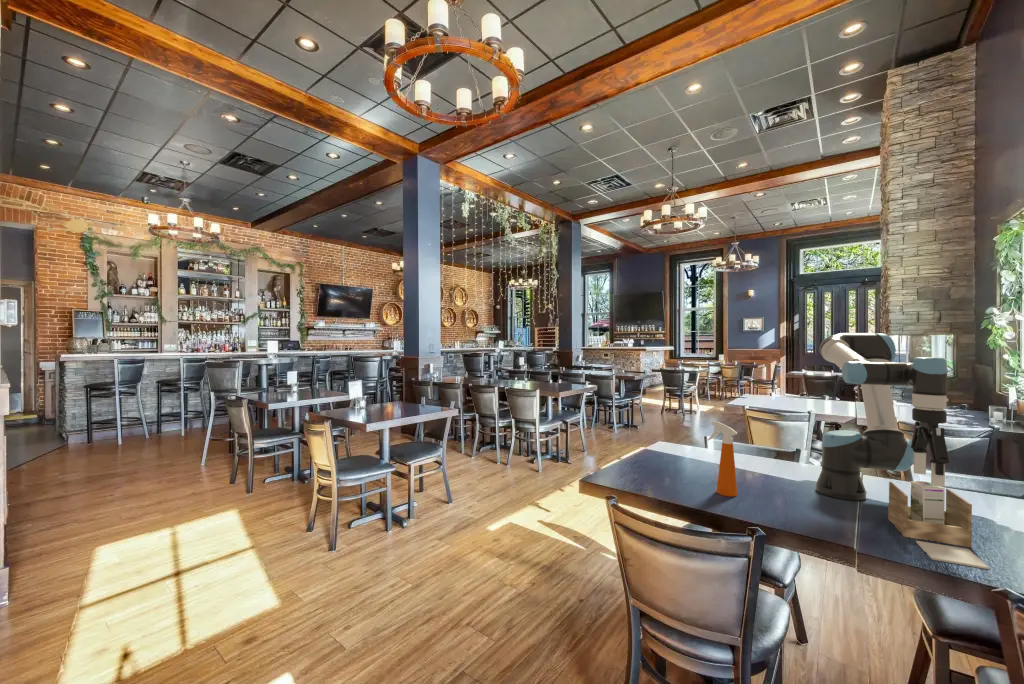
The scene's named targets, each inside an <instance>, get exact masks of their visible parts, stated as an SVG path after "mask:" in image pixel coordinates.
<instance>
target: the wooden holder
mask: <svg viewBox="0 0 1024 684" xmlns="http://www.w3.org/2000/svg"><path fill="white" fill-rule="evenodd" d="M908 499H909V496H908V495H907V494H906V493H905V492H904V491H903V490H902V489H900V488H899V487H898V486H897V485H896V484H895V483H893V481H889V482H888V503H887V504H888V505H887V506H888V507H887V509H888V510H887V516H888V517H887V519H888V521H890V522H891V524H892V523H893V524H894V525H895V526H894V525H893V524H892V525H893V526H894V527H895V528H896V530H897V531H898V532H899V533H900V532H901V533H900V534H901V535H902V536H903V537H904V538H909V537H910V538H911V539H917V540H922V539H923V540H924V541H928V540H930V541H931V542H934V541H937V542H936V543H940V542H942V544H949V545H954V546H959V547H960V546H961V547H965V548H972V547H973V545H972V544H973V543H972V540H973V538H972V537H973V530H972V527H973V525H972V523H973V522H972V521H973V520H972V518H973V517H972V516H973V514H972V513H973V512H972V511H973V504H972V503H970V502H969V501H967V499H964V498H963V497H962V496H960V495H959V494H957V493H956V492H954V491H952V490H951V489H950V488H946V489H945V510H944V525H943V524H936V523H929V522H923V521H916V520H911V505H909V504H908V503H909V500H908ZM923 540H922V541H923ZM930 541H929V542H930Z"/></svg>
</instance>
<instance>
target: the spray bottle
mask: <svg viewBox="0 0 1024 684" xmlns="http://www.w3.org/2000/svg"><path fill="white" fill-rule="evenodd" d="M711 425H713V426H714V427H713V429H714V430H713V432H712V434H711V435H710V436H709V437H708V438H707V439H706V440H707V441H710V440H712V439H714V438H715V437H716V436H717V435H719V434H723V437H722V442H721V450H720V459H719V468H718V477H717V482H716V483H717V484H716V493H717V494H718V495H720V496H724V497H731V498H732V497H737V496H738V487H737V484H738V483H737V474H736V464H735V461H736V460H735V453H734V444H733V443H734V437H733V436H735V435H737V434H738V431H736V430H735V429H733V428H732V427H730V426H728V425H726V424H724V423H722V422H719V421H713V420H712V421H711Z"/></svg>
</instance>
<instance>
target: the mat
mask: <svg viewBox="0 0 1024 684" xmlns="http://www.w3.org/2000/svg"><path fill="white" fill-rule="evenodd" d="M915 542H916V544H917V545H918V546H919V547H920V549H922V551H924V553H925V552H926V553H927V554H926V553H925V554H926V555H927V556H928V557H929V558H930V559H931V560H934V561H939V562H944V563H950V564H957V565H962V566H966V567H967V566H968V567H973V568H978V569H984V570H985V569H986V570H990V566H989V565H987V564H986V563H984V562H985V561H983V560H982V559H980V557H978V556H977V555H976V554H974V552H972V551H971V550H970V548H964V547H957V546H952V545H945V544H940V543H933V542H929V541H928V542H927V541H922V540H921V541H920V540H915Z"/></svg>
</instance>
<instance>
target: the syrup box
mask: <svg viewBox="0 0 1024 684" xmlns="http://www.w3.org/2000/svg"><path fill="white" fill-rule="evenodd" d="M945 503H946V489H945V487H941V486H933V485H931V481H923V480H920V481H918V480H917V481H915V480H914V481H912V480H911V481H910V506H911V520H916V521H923V522H929V523H936V524H943V525H944V511H945Z"/></svg>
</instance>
